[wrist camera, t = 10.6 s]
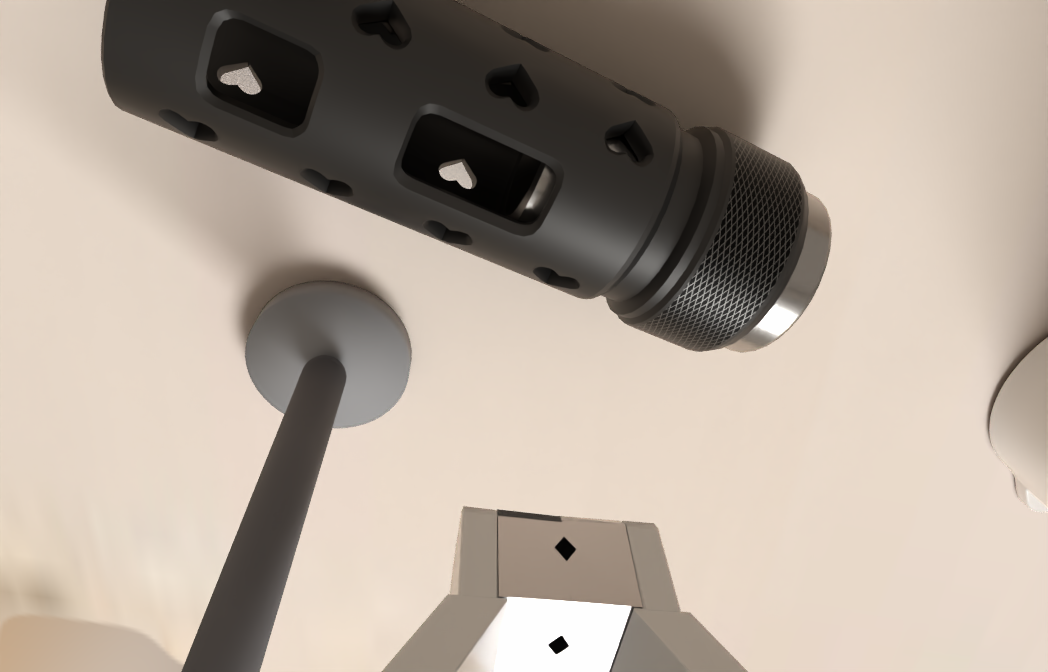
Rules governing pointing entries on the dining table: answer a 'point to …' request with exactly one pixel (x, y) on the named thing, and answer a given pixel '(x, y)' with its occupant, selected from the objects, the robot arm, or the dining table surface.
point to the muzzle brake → (488, 152)
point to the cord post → (297, 446)
